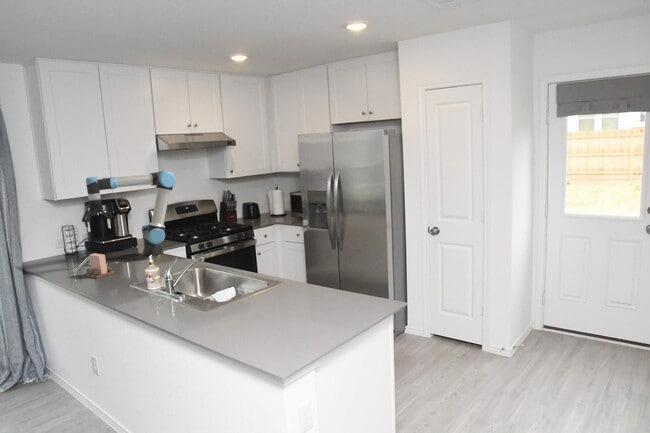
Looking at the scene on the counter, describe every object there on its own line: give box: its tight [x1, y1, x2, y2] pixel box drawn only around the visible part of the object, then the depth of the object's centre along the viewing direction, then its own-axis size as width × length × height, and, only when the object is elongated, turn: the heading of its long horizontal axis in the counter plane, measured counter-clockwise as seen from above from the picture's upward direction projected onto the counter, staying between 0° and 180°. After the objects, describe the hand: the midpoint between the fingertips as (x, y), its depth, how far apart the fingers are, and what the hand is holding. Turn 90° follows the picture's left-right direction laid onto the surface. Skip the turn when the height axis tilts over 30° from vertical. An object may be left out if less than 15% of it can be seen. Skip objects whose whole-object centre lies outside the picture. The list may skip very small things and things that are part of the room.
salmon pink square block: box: [88, 252, 108, 274], centre depth 302 cm, size 12×4×12 cm, turn 55°
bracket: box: [72, 256, 91, 274], centre depth 324 cm, size 3×21×10 cm, turn 174°
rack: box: [84, 266, 116, 279], centre depth 303 cm, size 15×12×4 cm
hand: (99, 229), depth 319 cm, fingers open, 13 cm apart
